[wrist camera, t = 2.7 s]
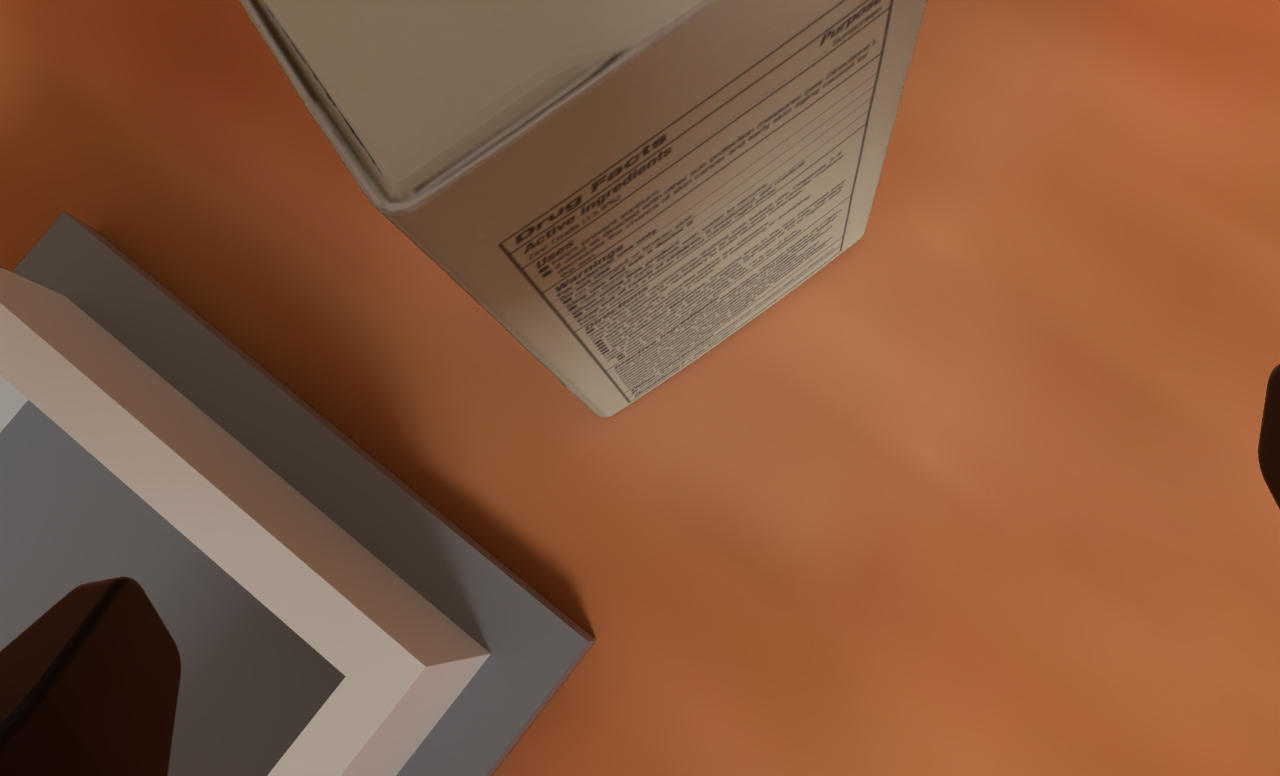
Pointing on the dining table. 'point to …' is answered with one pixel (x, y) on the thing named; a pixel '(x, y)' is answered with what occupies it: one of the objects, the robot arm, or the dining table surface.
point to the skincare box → (609, 155)
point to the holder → (250, 540)
